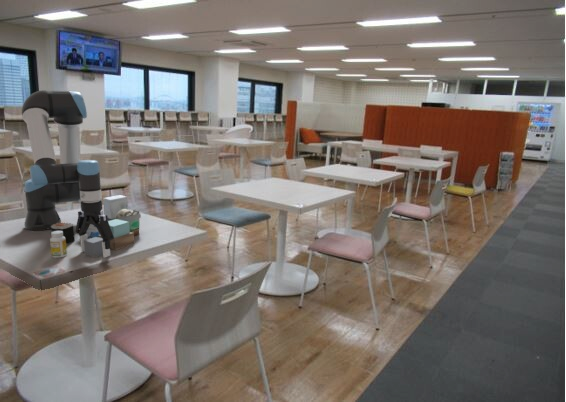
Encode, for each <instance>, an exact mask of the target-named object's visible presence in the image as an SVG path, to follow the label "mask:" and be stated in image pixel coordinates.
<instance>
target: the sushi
mask: <svg viewBox="0 0 566 402" xmlns="http://www.w3.org/2000/svg"><path fill="white" fill-rule="evenodd" d="M53 231H63V236H64V237H65V238H66V245H67V244H71V243H73V242H75V241H76V240H75V238H76V237H75V227H74V223H71V222H61V223H56V224H54V225H52V226H51V229H50V232H53Z"/></svg>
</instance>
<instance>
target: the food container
mask: <svg viewBox="0 0 566 402" xmlns="http://www.w3.org/2000/svg"><path fill="white" fill-rule="evenodd" d="M141 218H142V215H141V213H140V211H138V210H136V209H133V210H132V211H131V213H130V214H126V215H125V216H119V220H123V221H127V222H129V228H130V232H132V233H134V237H137V236H139V235H140V219H141Z"/></svg>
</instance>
